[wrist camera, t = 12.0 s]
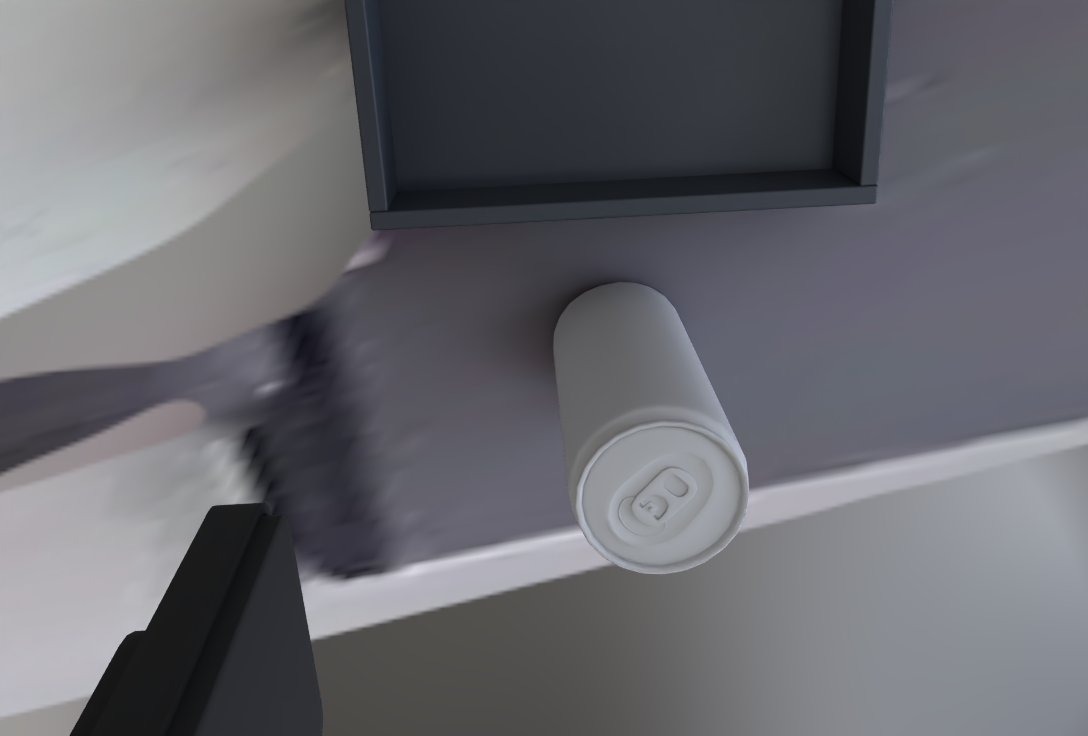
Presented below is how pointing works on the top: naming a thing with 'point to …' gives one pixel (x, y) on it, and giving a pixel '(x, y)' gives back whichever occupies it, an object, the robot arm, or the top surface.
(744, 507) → the beverage can
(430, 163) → the desk tray
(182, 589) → the robot arm
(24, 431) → the top surface
